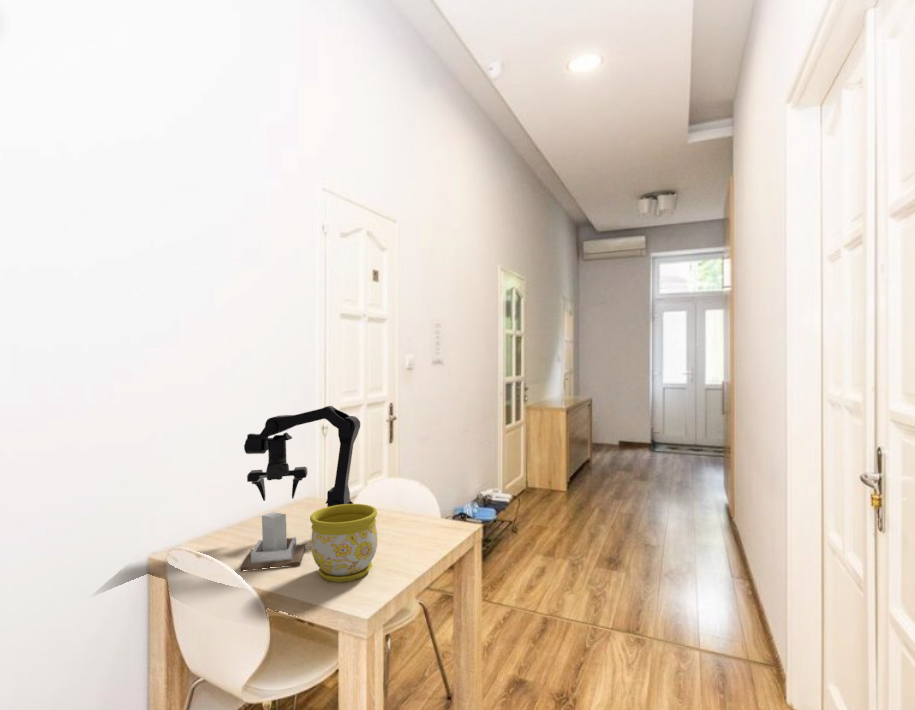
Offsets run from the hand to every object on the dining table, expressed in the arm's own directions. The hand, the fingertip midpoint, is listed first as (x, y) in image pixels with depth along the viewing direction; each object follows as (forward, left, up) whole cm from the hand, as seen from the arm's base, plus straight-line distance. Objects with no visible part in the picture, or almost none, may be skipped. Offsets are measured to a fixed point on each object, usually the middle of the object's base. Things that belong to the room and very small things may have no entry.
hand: (278, 499), depth 172 cm
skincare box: (-2, +22, -11) cm, 25 cm away
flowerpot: (-23, +37, -12) cm, 45 cm away
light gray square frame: (-2, +22, -11) cm, 25 cm away
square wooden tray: (-2, +22, -12) cm, 25 cm away
